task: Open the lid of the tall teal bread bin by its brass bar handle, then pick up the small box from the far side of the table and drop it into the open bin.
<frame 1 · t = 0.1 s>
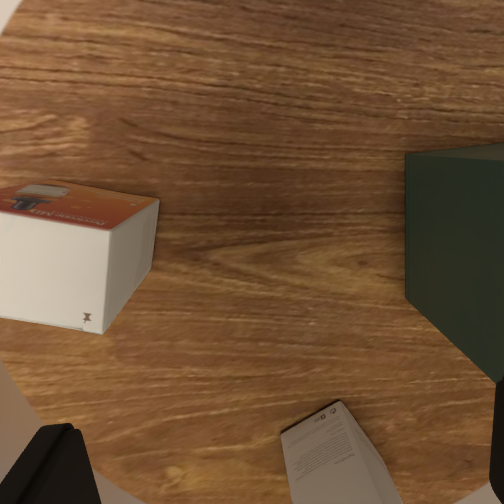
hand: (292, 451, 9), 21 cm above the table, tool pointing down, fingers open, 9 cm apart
small box: (103, 224, 28), on the table
cosmetic box: (334, 444, 34), on the table
bread bin: (479, 221, 29), on the table
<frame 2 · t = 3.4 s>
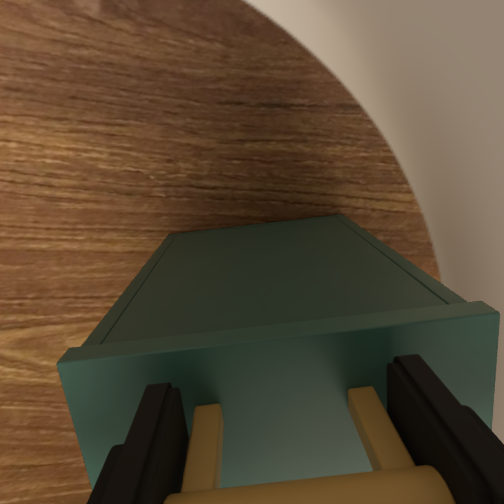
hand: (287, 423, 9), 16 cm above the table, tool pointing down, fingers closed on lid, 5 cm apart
bread bin: (264, 304, 26), on the table
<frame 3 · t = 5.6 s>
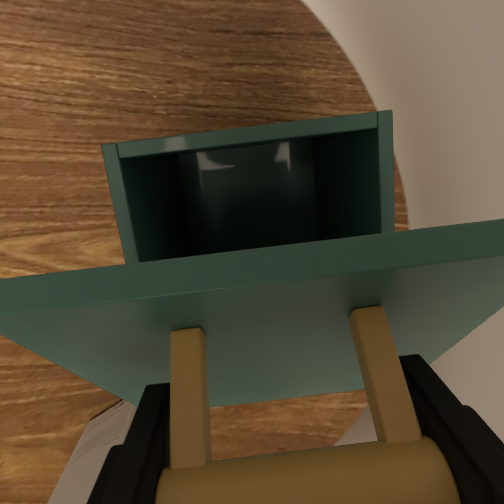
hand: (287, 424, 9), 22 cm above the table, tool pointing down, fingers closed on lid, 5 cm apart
cosmetic box: (146, 432, 35), on the table
lid: (285, 424, 11), point 21 cm above the table, hinge at 44.1°, touching gripper
bread bin: (251, 212, 30), on the table
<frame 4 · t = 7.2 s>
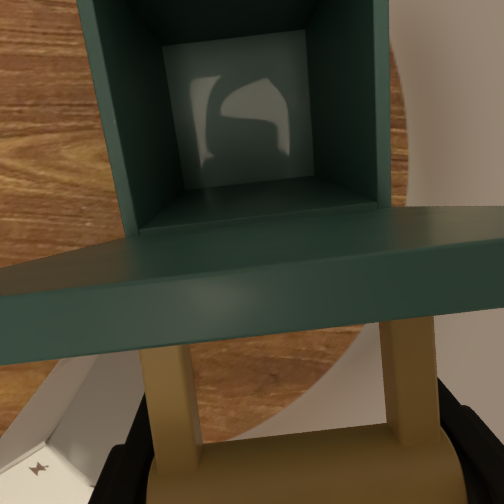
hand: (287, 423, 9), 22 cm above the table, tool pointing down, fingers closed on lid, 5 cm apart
cosmetic box: (133, 356, 34), on the table
lid: (275, 324, 10), point 21 cm above the table, hinge at 80.8°, touching gripper
bread bin: (241, 114, 29), on the table
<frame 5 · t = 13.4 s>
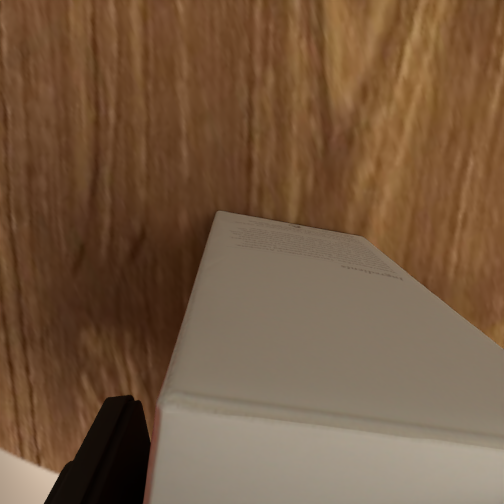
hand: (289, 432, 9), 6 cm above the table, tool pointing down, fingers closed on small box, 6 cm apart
small box: (269, 317, 15), on the table, touching gripper
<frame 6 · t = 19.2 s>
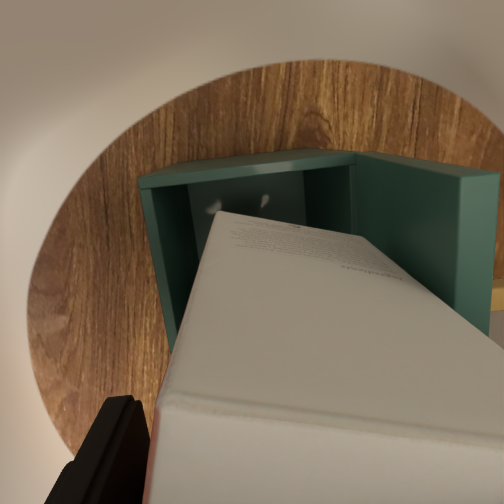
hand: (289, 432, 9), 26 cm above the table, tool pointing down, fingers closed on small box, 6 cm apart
small box: (269, 317, 15), point 20 cm above the table, touching gripper
cosmetic box: (451, 312, 38), on the table
lid: (455, 303, 15), point 21 cm above the table, hinge at 83.1°, touching gripper
bread bin: (249, 218, 35), on the table
when the fingers open (26 cm above the table, at t = 19.6 s): small box drops 20 cm, resting on bread bin.
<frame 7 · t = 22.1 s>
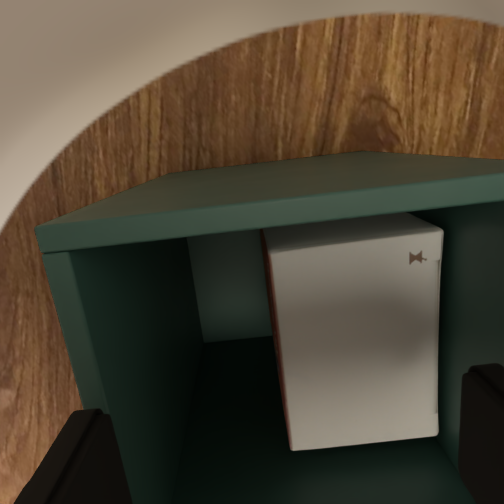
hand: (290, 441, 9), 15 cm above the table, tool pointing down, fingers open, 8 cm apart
small box: (308, 258, 23), resting on bread bin
bread bin: (274, 255, 23), on the table
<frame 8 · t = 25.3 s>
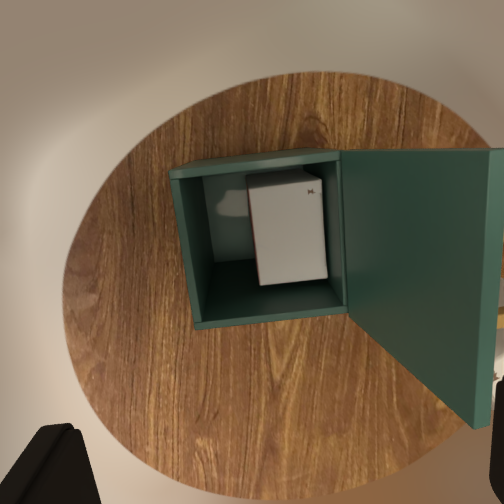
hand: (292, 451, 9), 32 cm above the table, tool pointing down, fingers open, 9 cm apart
small box: (276, 210, 39), resting on bread bin
cosmetic box: (436, 294, 43), on the table
lid: (437, 255, 20), point 20 cm above the table, hinge at 100.5°
bread bin: (256, 209, 40), on the table
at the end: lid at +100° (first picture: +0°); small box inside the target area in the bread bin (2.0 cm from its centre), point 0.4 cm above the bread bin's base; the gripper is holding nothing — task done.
